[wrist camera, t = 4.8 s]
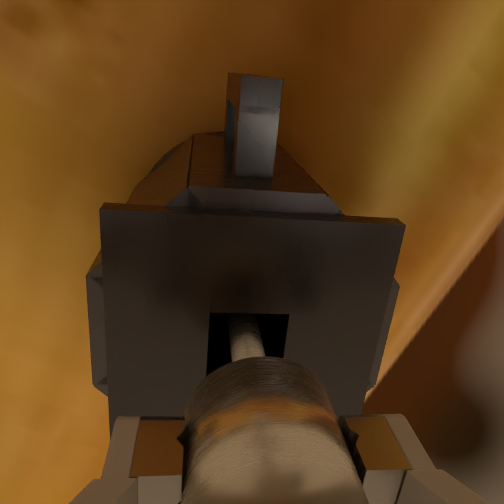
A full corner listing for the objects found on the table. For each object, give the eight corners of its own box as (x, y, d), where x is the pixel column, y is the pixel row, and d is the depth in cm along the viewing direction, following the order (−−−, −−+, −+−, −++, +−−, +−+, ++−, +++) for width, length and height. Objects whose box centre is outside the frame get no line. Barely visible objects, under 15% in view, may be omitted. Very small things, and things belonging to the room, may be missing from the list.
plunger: (158, 173, 19) (70, 389, 6) (311, 183, 20) (504, 388, 7) (157, 310, 21) (94, 656, 9) (292, 313, 22) (409, 631, 10)
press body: (133, 63, 20) (60, 59, 10) (335, 82, 22) (462, 97, 11) (136, 298, 25) (89, 467, 15) (301, 302, 27) (368, 460, 16)
